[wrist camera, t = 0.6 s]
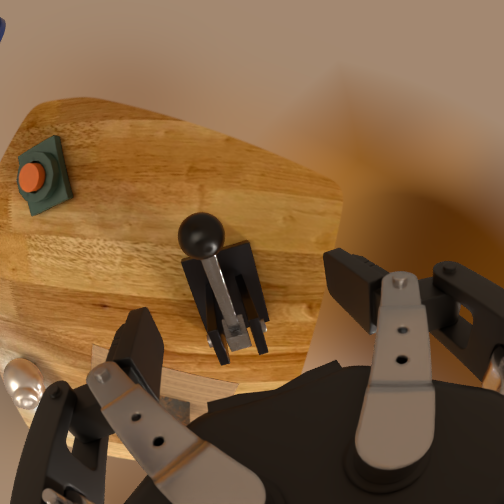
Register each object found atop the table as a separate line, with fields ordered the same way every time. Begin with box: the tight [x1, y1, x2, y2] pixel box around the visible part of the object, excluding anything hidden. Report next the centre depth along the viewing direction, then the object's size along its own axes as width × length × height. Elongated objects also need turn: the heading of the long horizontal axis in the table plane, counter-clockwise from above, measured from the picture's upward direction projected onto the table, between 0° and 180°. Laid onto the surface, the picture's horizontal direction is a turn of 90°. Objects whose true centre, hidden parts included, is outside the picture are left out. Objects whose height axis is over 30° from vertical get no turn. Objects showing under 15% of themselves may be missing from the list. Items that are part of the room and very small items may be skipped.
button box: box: [17, 135, 73, 216], centre depth 27 cm, size 9×7×4 cm
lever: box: [178, 212, 252, 352], centre depth 23 cm, size 16×3×3 cm, turn 13°
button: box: [19, 163, 45, 192], centre depth 25 cm, size 4×4×2 cm
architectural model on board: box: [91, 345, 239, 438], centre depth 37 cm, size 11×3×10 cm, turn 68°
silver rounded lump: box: [3, 358, 46, 410], centre depth 31 cm, size 9×10×10 cm
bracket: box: [181, 240, 270, 366], centre depth 32 cm, size 12×9×13 cm
